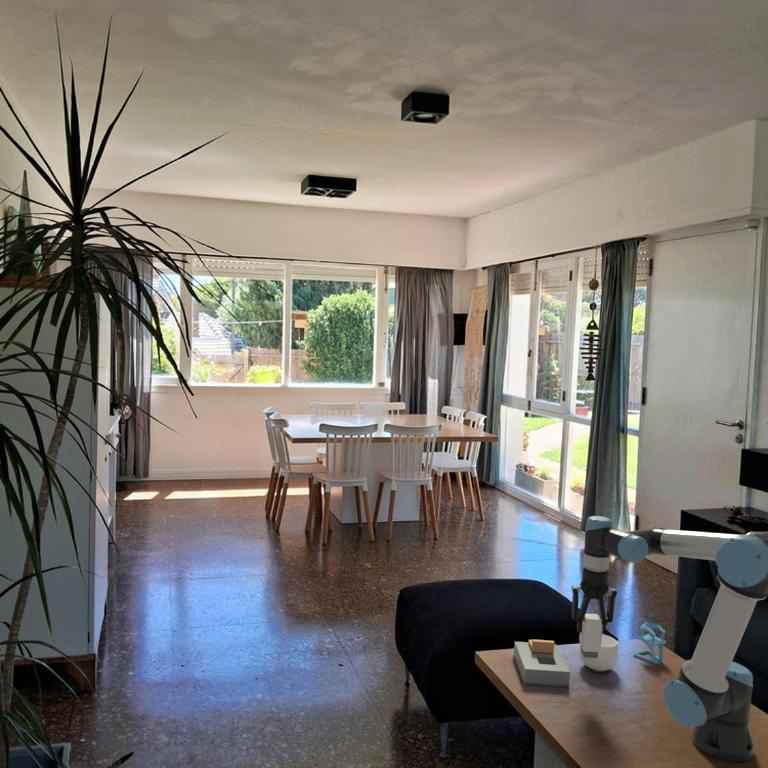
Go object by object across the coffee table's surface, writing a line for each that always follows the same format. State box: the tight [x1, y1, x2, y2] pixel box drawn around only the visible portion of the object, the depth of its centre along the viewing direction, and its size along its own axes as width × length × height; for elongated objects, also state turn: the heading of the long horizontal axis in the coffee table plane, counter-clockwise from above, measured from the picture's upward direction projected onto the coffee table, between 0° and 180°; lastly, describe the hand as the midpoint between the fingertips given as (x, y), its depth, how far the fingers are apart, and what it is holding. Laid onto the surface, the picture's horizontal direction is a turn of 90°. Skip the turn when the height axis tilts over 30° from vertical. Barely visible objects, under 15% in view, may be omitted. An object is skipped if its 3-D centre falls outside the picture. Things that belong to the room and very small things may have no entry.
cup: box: [579, 634, 619, 673], centre depth 240 cm, size 12×12×10 cm
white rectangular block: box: [579, 613, 602, 658], centre depth 220 cm, size 4×4×12 cm
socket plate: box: [513, 641, 571, 688], centre depth 236 cm, size 20×14×5 cm
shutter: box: [528, 638, 555, 653], centre depth 241 cm, size 7×7×4 cm
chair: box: [633, 622, 667, 665], centre depth 250 cm, size 8×8×12 cm
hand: (590, 643), depth 220 cm, fingers closed on white rectangular block, 4 cm apart
